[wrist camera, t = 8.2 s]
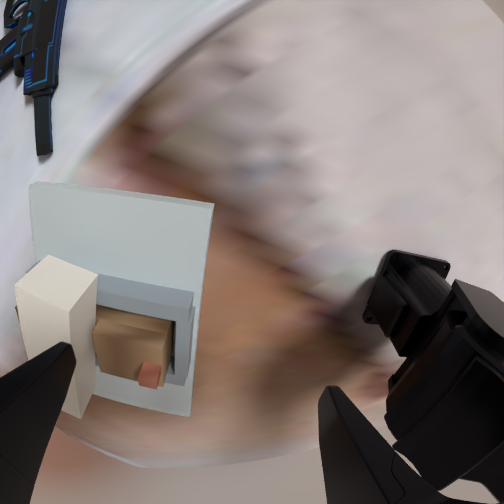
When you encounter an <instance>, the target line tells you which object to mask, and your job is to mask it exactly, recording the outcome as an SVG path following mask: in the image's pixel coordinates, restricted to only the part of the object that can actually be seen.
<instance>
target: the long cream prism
mask: <svg viewBox="0 0 504 504" xmlns="http://www.w3.org/2000/svg"><path fill="white" fill-rule="evenodd" d="M97 284H98V274H96V273H93V272H90V271H88V270H85V269H83V268H80V267H78V266H75V265H73V264H70V263H68V262H65V261H63V260H61V259H58V258H56V257H53V256H51V255H47V256H46V257H45V258H44V259H43V260H42V261H40V262H39V263H38V264H37V265H36V266H35V267H34V268H33V269H31V270H30V271H29V272H28V273H27V274H26V275H25V276H24V277H23V278H22V279H20V280H19V281H18V282H17V283H16V284H15V285H14V287H15V295H16V302H17V308H18V314H19V320H20V325H21V330H22V335H23V340H24V344H25V348H26V353H27V357H28V360H30V359H32V358H34V357H35V356H37V355H39V354H40V353H42V352H44V351H45V350H47V349H49V348H50V347H52V346H54V345H55V344H57V343H59V342H61V341H63V342H67V343H70V344H71V345H72V347H73V350H74V354H75V357H76V367H75V370H74V373H73V376H72V379H71V383H70V386H69V389H68V393H67V396H66V399H65V401H64V404H63V406H62V409H61V410H62V411H64V412H66V413H68V414H70V415H72V416H75V417H77V418H79V419H82V417H83V414H84V412H85V410H86V407H87V405H88V403H89V400H90V398H91V396H92V393H93V391H94V389H95V387H96V370H95V346H94V341H93V336H92V331H93V330H94V328H95V321H96V299H97Z"/></svg>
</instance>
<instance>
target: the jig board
mask: <svg viewBox="0 0 504 504" xmlns="http://www.w3.org/2000/svg"><path fill="white" fill-rule="evenodd" d="M29 203H30V217H31V228H32V237H33V245H34V253H35V259H36V264H34V265H33V266H32V267H31V268H30V269H29V270H28V271H27V272H26V273H28V272H29V271H30V270H31V269H33V268H34V267H35V266H36V265H37V264H38V263H39V262H40V261H42V260H43V259H44V258H45V257H46V256H47V255H51V256H53V257H56V258H58V259H61V260H63V261H65V262H68V263H70V264H73V265H75V266H78V267H80V268H83V269H85V270H88V271H90V272H93V273H96V274H98V284H97V299H96V304H98V305H102V306H106V307H110V308H115V309H119V310H123V311H128V312H132V313H137V314H142V315H147V316H152V317H157V318H162V319H167V320H172V321H174V336H173V352H172V356H171V360H170V363H169V367H168V371H167V375H166V378H165V382H164V386H163V387H160V386H158V387H157V390H156V389H152V388H147V387H143V386H139V383H138V382H137V381H133V380H129V379H125V378H121V377H117V376H114V375H110V374H107V373H103V372H100V368H99V364H98V359H97V355H95V370H96V387H95V389H94V391H93V393H92V394H94V395H98V396H101V397H104V398H108V399H111V400H114V401H118V402H122V403H125V404H129V405H133V406H137V407H141V408H146V409H150V410H155V411H159V412H164V413H169V414H174V415H180V416H185V417H190V414H191V407H192V393H193V381H194V369H195V358H196V348H197V338H198V328H199V319H200V310H201V301H202V292H203V284H204V276H205V268H206V260H207V253H208V245H209V238H210V231H211V224H212V217H213V211H214V203H207V202H201V201H194V200H188V199H181V198H174V197H167V196H160V195H153V194H146V193H138V192H131V191H123V190H115V189H106V188H98V187H89V186H80V185H70V184H60V183H50V182H35V183H33V184H31V185H29Z"/></svg>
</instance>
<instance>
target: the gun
mask: <svg viewBox="0 0 504 504" xmlns="http://www.w3.org/2000/svg"><path fill="white" fill-rule="evenodd" d="M13 1H14V0H7V2H6V6H5V10H4V28H10V29H12V30H11V31H10V32H9V33H8V34H7V35H6V36H4V37H3V38H2V39H1V40H0V77H1V76H2V75H3V74H4V73H5V72H7V71H8V70H9V69H10V68H11V67H12V66H13V65H14V74H15V76H17V77H24V95H33V98H34V117H35V138H36V151H37V156H40V155H45V154H49V153H52V152H53V143H52V133H51V131H52V123H51V93H53V94H54V88H55V87H56V86H57V85H58V69H59V56H60V46H61V37H62V29H63V22H64V15H65V9H66V4H67V0H18V1H17V2H16V3H15V4H14V5H13ZM28 1H29V3H28V6H27V8H26V10H25V11H24V12H23V14H22V15H21V16H19V17H17V18H15V19H13V14H14V12H15V11H16V10H17V8H18V7H19V6H20V5H21V4H23V3H24V2H28ZM12 5H13V7H12Z"/></svg>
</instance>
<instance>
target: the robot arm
mask: <svg viewBox="0 0 504 504" xmlns="http://www.w3.org/2000/svg"><path fill="white" fill-rule="evenodd" d="M394 255H396V257H395V258H394V259H393V256H394ZM445 266H446V267H445ZM444 267H445V268H444ZM449 270H450V264H449V263H448V262H447V261H445V260H441V259H436V258H432V257H427V256H423V255H418V254H413V253H409V252H404V251H399V250H391V251H390V252H389V254H388V256H387V258H386V261H385V263H384V266H383V269H382V271H381V274H380V276H379V277H378V279H377V281H376V284H375V286H374V288H373V291H372V293H371V296H370V298H369V300H368V303H367V304H368V305H367V307H366V309H365V311H364V314H363V316H362V318H363V321H364V322H365V323H367V324H379V325H380V327H381V329H382V331H383V333H384V335H385V336H386V337H387V338H390V340H391V342H392V344H393V345H394V347H395V349H396V351H397V353H398V355H399V356H400V357H406V360H405V361H404V362H403V364H402V365H401V366H400V368H399V369H398V370H397V372H396V373H395V374H393V375H392V376H391V377H390V378H389V380H388V388H389V393H388V396H387V399H386V411H387V413H386V414H385V416H384V418H385V421H386V424H387V426H388V429H389V430H390V431H391V433H392V435H393V436H394V438H395V439H396V440H397V442H395V443H394V444H393V445H392V447H393V448H392V447H391V446H390V445H389V444H388V442H387V441H386V440H385V439H384V438H383V437H382V436H381V435H380V433H379V432H378V431H377V430H376V429H375V428H374V427H373V425H372V424H371V423H370V422H369V421H368V420H367V419H366V417H365V416H364V415H363V414H362V413H361V412H360V411H359V409H358V408H357V407H356V406H355V405H354V404H353V403H352V401H351V400H350V399H349V398H348V397H347V396H346V394H345V393H344V392H343V391H342V390H341V389H340V388H339V387H338V386H327V387H326V388H325V389H324V391H323V393H322V395H321V397H320V399H319V402H318V420H319V445H320V451H321V459H322V467H323V474H324V482H325V490H326V497H327V504H486V503H478V502H470V501H464V500H458V499H452V498H449V497H446V496H444V495H442V494H441V493H440V492H438V491H440V490H442V489H444V488H445V487H447V486H449V485H450V484H451V483H453V482H455V481H456V480H457V479H463V480H468V481H474V482H479V483H481V484H482V485H484V486H485V487H486V488H487V490H488V491H489V492H490V493H491V494H492V495H493V496H494V498H495V499H496V500H497V501H498V502H499V503H498V504H504V302H502V301H501V300H500V299H499V298H498V297H496V296H495V295H494V294H493V293H492V292H490V291H487V290H484V289H482V288H479V287H476V286H473V285H471V284H468V283H465V282H462V281H460V280H457V279H455V280H454V282H453V284H452V286H451V285H450V284H449V283H448V282H447V281H446V280H445V279H446V277H447V274H448V272H449ZM369 316H370V317H369ZM368 317H369V318H368ZM75 367H76V357H75V354H74V350H73V347H72V345H71V344H70V343H67V342H63V341H61V342H59V343H57V344H55V345H54V346H52V347H50V348H49V349H47V350H45V351H44V352H42V353H40V354H39V355H37V356H35V357H34V358H32V359H30V360H29V361H27V362H25V363H24V364H22V365H20V366H19V367H17V368H15V369H14V370H12V371H11V372H9V373H7V374H6V375H4V376H2V377H1V378H0V504H30V500H31V496H32V493H33V489H34V484H35V481H36V478H37V475H38V472H39V469H40V466H41V462H42V459H43V456H44V453H45V451H46V448H47V445H48V442H49V440H50V437H51V434H52V432H53V429H54V426H55V424H56V421H57V419H58V416H59V414H60V411H61V409H62V406H63V404H64V401H65V399H66V396H67V393H68V389H69V386H70V383H71V379H72V376H73V373H74V370H75ZM395 450H396V451H398V452H399V453H401V454H402V455H404V456H405V457H406V458H408V460H409V461H410V462H411V463H413V465H414V466H415V468H416V469H417V470H418V472H419V473H420V475H421V476H419V475H418V474H417V473H416V472H415V471H414V470H413V469H412V468H411V467H410V466H409V465H408V464H407V463H406V462H405V461H404V460H403V459H402V458H401V457H400V456H399V455H398V454H397V453H396V452H395Z"/></svg>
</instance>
